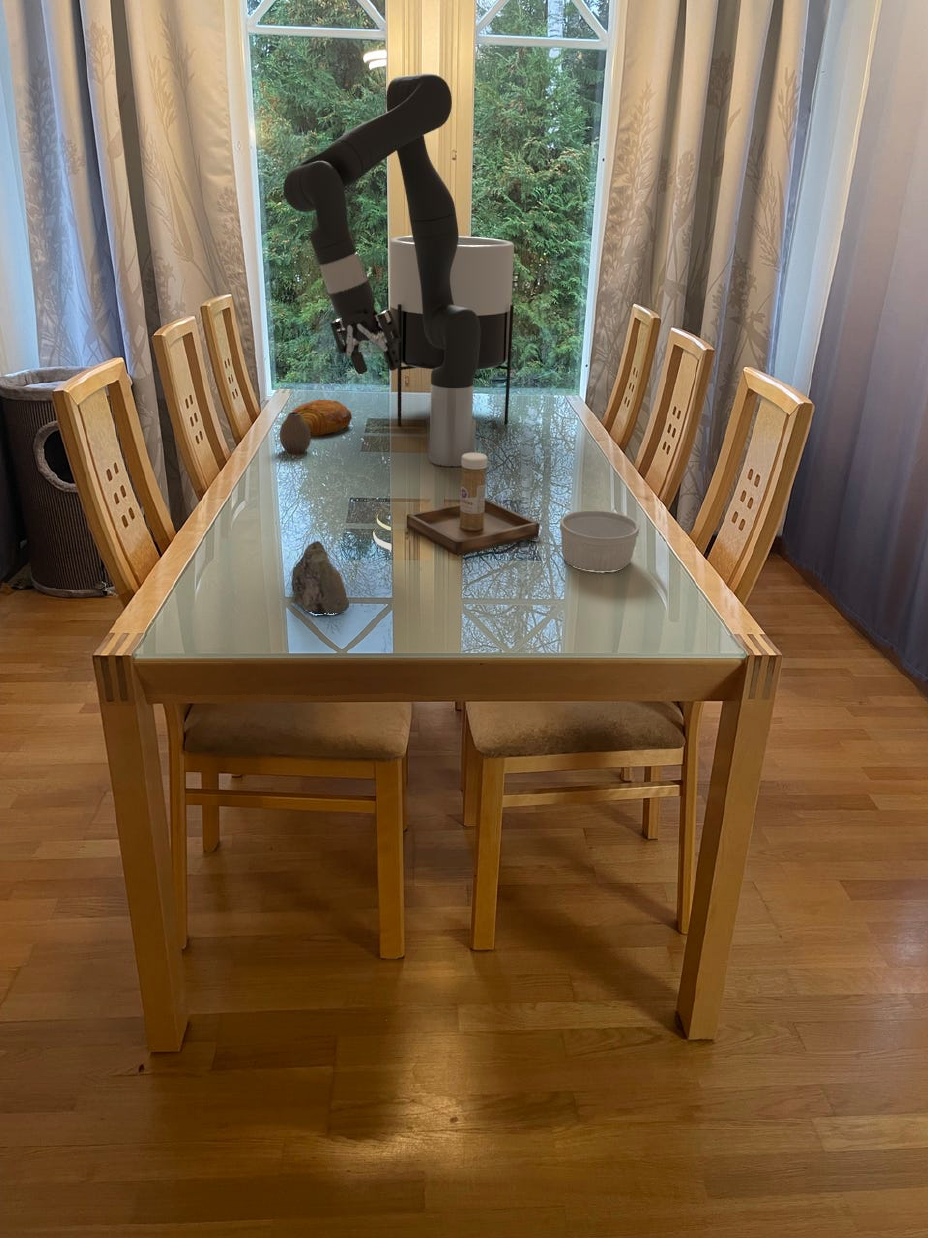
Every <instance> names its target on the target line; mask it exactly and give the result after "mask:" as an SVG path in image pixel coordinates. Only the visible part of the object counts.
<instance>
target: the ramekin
mask: <svg viewBox="0 0 928 1238" xmlns="http://www.w3.org/2000/svg"><path fill="white" fill-rule="evenodd" d="M559 530H560V540H561V543H560V545H561V555H562V558H563V559H564V561H566V563H567V564H568V563H569V564H570V565H572V566H575V567H577V568H581V569H585V570H594V571H612V570H618V569H621V568H623V569H625V568H626V567H628V565H629V564H630V563H631V560H632V558H633V554H634V551H635V547H636V541H637V538H638V537H639V533H640V525H639V523H638V522H637V521H636V520H634V519H633V518H631V517H629V516H627V515H624V514H621V513H619V512H613V511H608V510H606V511H605V510H599V509H598V510H596V509H593V510H578V511H577V510H576V511H573V512H570V513H567V514H566V515H564V516H563V517H562V518H561V519H560V524H559ZM569 564H568V565H569ZM570 565H569V566H570ZM572 566H571V567H572ZM625 566H626V567H625ZM624 567H625V568H624Z"/></svg>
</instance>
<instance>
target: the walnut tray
mask: <svg viewBox="0 0 928 1238" xmlns="http://www.w3.org/2000/svg"><path fill="white" fill-rule="evenodd" d="M460 505H461V502H460V503H457V504H452V505H447V506H446V505H445V506H443V507H437V508H433V509H427V510H423V511H419V512H413V513H408V514H406V528H407V529H409V530H410V531H411V532H413V533H415V534H417V535H418V536H420V537H422V538H424V539H426V540H427V541H430V542H431V543H433V544H435V545H436V544H437V546H438V545H439V546H438V547H441V549H443V550H446V551H447V552H449V553H451V554H452V553H453V555H454V556H456V557H460V556H464V555H465V556H466V555H468V554H473V553H476V552H480V551H485V550H489V549H493V548H497V547H501V546H505V545H508V544H509V545H510V544H513V543H516V542H521V541H526V540H530V539H534V538H537V537H539V534H540V533H539V531H540V522H537V521H535V520H533V519H531V518H529V517H527V516H524V515H522V514H520V513H518V512H516V511H514V510H512V509H509V508H507V507H506V506H503V505H501V504H499V503H497V502H494V501H492V500H490V499H488V498H486V497H485V509H484V521H483V524H484V528H483V529H481V530H477V531H467V530H464V529H461V527H460V526H459V524H460V513H461V509H460Z"/></svg>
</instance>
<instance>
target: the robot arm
mask: <svg viewBox="0 0 928 1238" xmlns="http://www.w3.org/2000/svg"><path fill="white" fill-rule="evenodd" d="M385 102H386V104H385V105H386V113H382V114H380V115H379V116H376V117H374V118H371V119H369V120H367V121H364V122H363V123H361V124H359V125H358V124H357V126H355V127H353V128H351V129H350V130H348V131H347V132H346V133H344V134H342V136H340V137H339V138H338V139H336V140H335V141H334V142H332V143H331V144H330V145H329V146H328V147H327V148H326V149H324V150H323V151H321V152H320V153H317V154H315V155H313V156H312V157H310V158H308V159H307V160H305V161H303V162H301V163H300V164H298V165H297V166H295V167H294V168H293V169H291V170H290V172H288V174H286V175H287V176H286V177H285V178H284V179H285V180H284V182H283V196H284V198H285V202H286V203H287V204H288V205H289V206H290V207H291V208H292V209H294V210H296V211H298V212H301V213H310V212H313V211H315V214H316V220H317V225H316V226H315V227H314V228H312V230H311V231H310V234H309V238H310V243H311V247H312V249H313V252H314V254H315V258H316V259H317V262H318V265H319V267H320V271H321V276H322V279H323V282H324V285H325V288H326V290H327V291H326V292H327V293H328V295H329V299H330V301H331V304H332V306H333V309H334V312H335V314H336V316H337V317H338V318H337V319H335V320H333V321H332V322H330V324H329V325H330V327H331V330H332V334H333V336H334V340H335V344H336V346H337V348H338V351H339V353H340V354H346V355H347V356H348V357H350V360H351V362H352V365H353V368H354V370H355V372H356V373H357V375H363V374H365V373H366V372H368V367H367V363H366V361H365V358H364V355H363V353H362V351H360V350H361V344H362V342H363V341H365V342H366V341H371V343H373V344H375V345H377V346H378V347H379V348H380V349H381V350H383V352H382V354H383V356H384V358H385V360H386V364H387V367H388V369H389V371H396V370H398V368H399V364H400V361H399V359H398V355H397V353H396V350H395V345H396V344H398V343H399V342H401V337H400V334H399V332H398V329H397V327H396V324H395V321H394V319H393V316H392V314H391V311H390V309H386V310H384V311H382V312H380V313H378V311H376V308H375V304H376V298H375V295H374V292H373V289H372V286H371V284H370V281H369V277H368V276H367V272H366V270H365V266H364V264H363V262H362V259H361V257H360V256H359V255H360V254H359V253H358V250H357V248H356V244H355V242H354V239H353V236H352V234H351V231H350V229H349V218H348V216H349V215H348V208H347V200H346V199H347V198H346V193H345V187H348V186H350V185H352V184H354V183H356V182H357V181H358V180H360V179H361V178H362V177H363V176H365V175H366V174H367V173H368V172H370V171H371V170H372V169H373V168H375V167H376V166H377V165H378V164H380V163H381V162H382V161H384V160H386V159H387V157H389V156H390V155H392V154H394V153H397V157H398V158H397V159H398V162H399V166H400V171H401V176H402V180H403V185H404V191H405V195H406V201H407V207H408V208H407V209H408V217H409V222H410V228H411V234H412V235H411V236H413V241H414V245H415V251H416V257H417V264H418V271H419V277H420V284H421V295H422V310H423V323H424V330H425V334H426V337H427V339H428V341H429V342H430V343H431V344H432V345H433V346H434V347H436V348H439V349H443V350H445V353H444V362H443V364H442V366H440V367H436V368H434V369H433V370H432V369H431V372H430V374H431V375H430V409H429V410H430V413H429V415H430V416H429V417H430V421H429V462H430V463H431V464H433V463H434V465H436V466H440V465H441V466H442V467H451V466H453V467H461V466H460V465H461V461H462V455H464V454H466V453H476V452H475V450H476V427H477V425H476V424H477V421H476V418H474V417H473V407H474V404H473V403H474V381H475V380H474V379H475V375H476V373H477V371H478V370H477V368H478V359H479V348H480V333H481V331H480V322H479V319H478V317H477V315H476V313H475V312H474V311H472V310H470V309H468V308H464V307H459V306H455V305H454V302H453V298H452V293H451V285H450V272H451V267H452V264H453V260H454V257H455V254H456V250H457V246H458V239H459V236H460V235H459V234H460V233H459V225H458V220H457V219H458V218H457V212H456V211H457V210H456V206H455V205H456V204H455V201H454V199H453V196H452V194H451V193H450V190H449V189H448V187H447V185H446V184H445V182H444V181H443V178H442V177H441V176H440V174H439V173H438V171H437V170H436V168H435V166H434V165H433V162H432V161H431V159H430V156H429V153H428V149H427V144H426V140H425V135H427V134H428V133H431V132H434V131H435V130H437V129H439V128H441V127H443V125H444V124H445V123H447V121H448V119H449V117H450V115H451V111H452V107H453V106H452V105H453V98H452V93H451V88H450V87H449V85H448V83H447V81H445V79H444V78H442V76H439V75H437V74H435V73H434V74H433V73H419V74H407V75H400V76H396V77H394V78H393V79H391V81H390V83H389V84H388V87H387V89H386V96H385ZM391 332H392V334H393V337H394V338H392V335H391Z"/></svg>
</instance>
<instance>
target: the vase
mask: <svg viewBox="0 0 928 1238" xmlns="http://www.w3.org/2000/svg"><path fill="white" fill-rule="evenodd" d="M311 436H312V435H311V433H310V429H309V426H308V425H307V423H306V422H305V421H304V420H303V418H302V417H301V415H300V413H299V412H292V411H290V412H288V414H287V417H286V418H285V420H284V421H283V423H282V424H281V426H280V430H279V441H280V444H281V446H282V448H283V450H285V451H286V452H287V453H288V454H295V455H296V454H303V453H305V452H306V451H307V450H308V448H309V447H310V444H311V440H312V437H311Z"/></svg>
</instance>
